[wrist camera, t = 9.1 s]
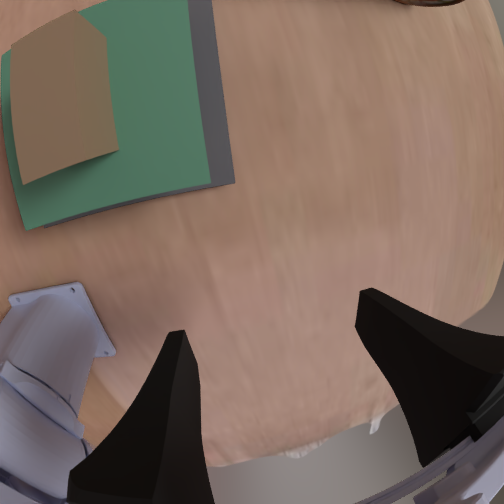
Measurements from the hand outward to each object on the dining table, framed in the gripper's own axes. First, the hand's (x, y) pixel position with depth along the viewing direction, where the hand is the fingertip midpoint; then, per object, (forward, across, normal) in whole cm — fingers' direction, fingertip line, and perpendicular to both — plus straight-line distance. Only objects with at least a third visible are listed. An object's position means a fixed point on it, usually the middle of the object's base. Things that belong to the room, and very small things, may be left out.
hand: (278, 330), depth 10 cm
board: (+6, +7, -10) cm, 14 cm away
